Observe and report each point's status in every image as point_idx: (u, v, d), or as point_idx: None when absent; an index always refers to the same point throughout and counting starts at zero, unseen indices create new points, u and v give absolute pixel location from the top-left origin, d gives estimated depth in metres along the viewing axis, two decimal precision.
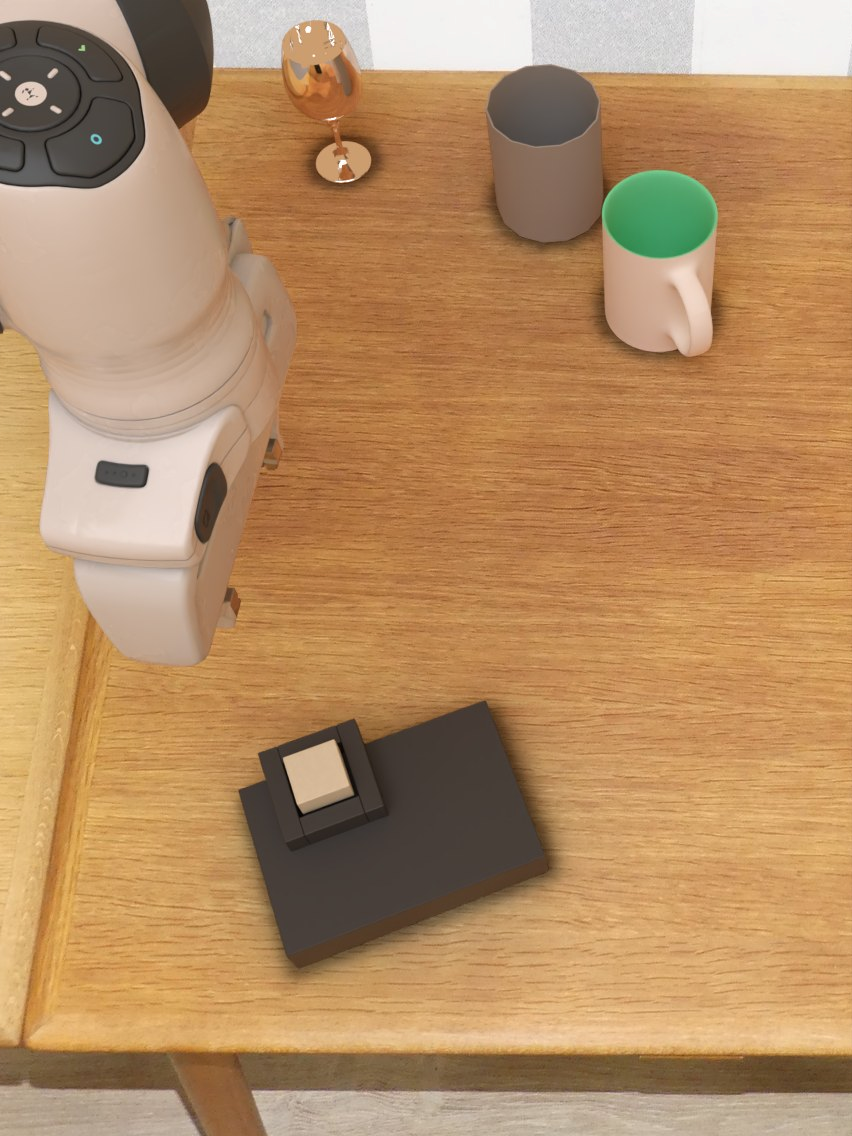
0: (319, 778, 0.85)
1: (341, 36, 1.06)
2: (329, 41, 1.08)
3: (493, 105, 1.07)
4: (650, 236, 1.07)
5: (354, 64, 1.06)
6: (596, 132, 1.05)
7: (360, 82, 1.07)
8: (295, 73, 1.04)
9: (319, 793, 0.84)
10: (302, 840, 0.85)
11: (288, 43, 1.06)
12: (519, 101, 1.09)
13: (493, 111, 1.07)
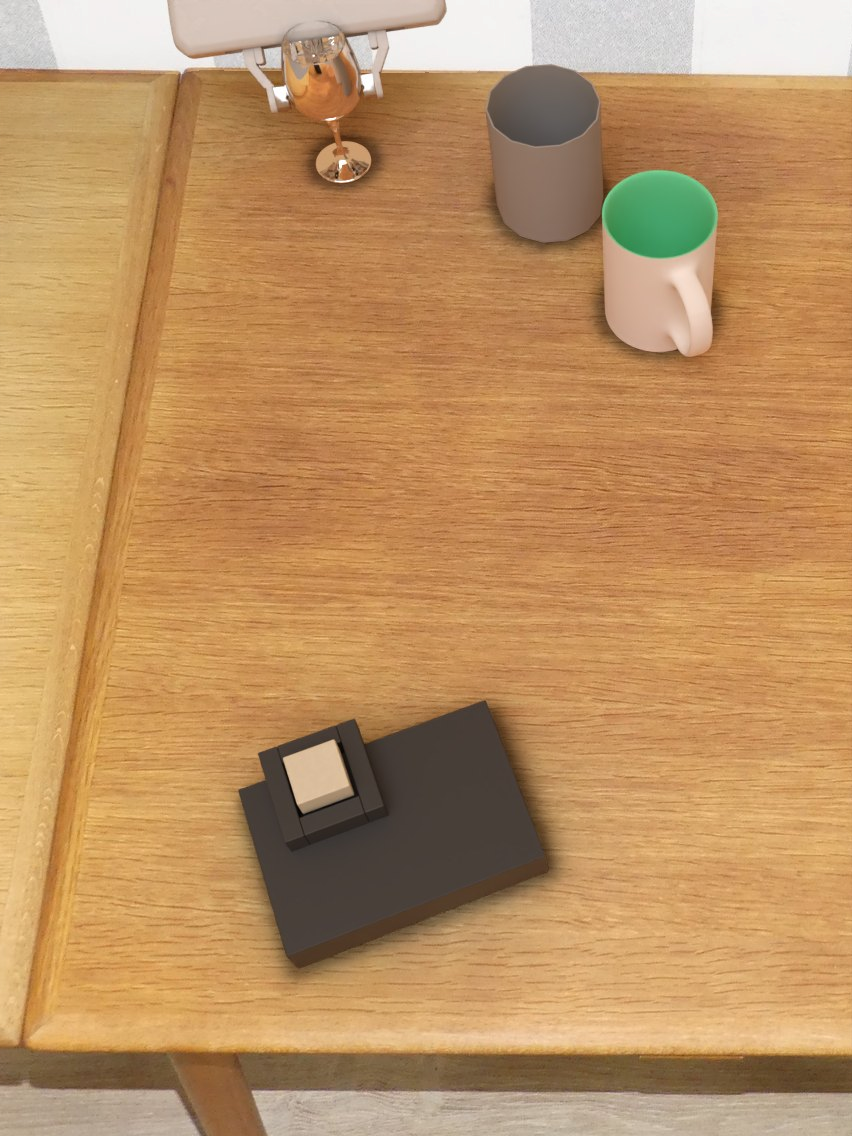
0: (319, 778, 0.85)
1: (341, 36, 1.06)
2: (329, 41, 1.08)
3: (493, 105, 1.07)
4: (650, 236, 1.07)
5: (354, 64, 1.06)
6: (596, 132, 1.05)
7: (360, 82, 1.07)
8: (294, 73, 1.04)
9: (319, 793, 0.84)
10: (302, 840, 0.85)
11: (288, 43, 1.06)
12: (519, 101, 1.09)
13: (493, 111, 1.07)
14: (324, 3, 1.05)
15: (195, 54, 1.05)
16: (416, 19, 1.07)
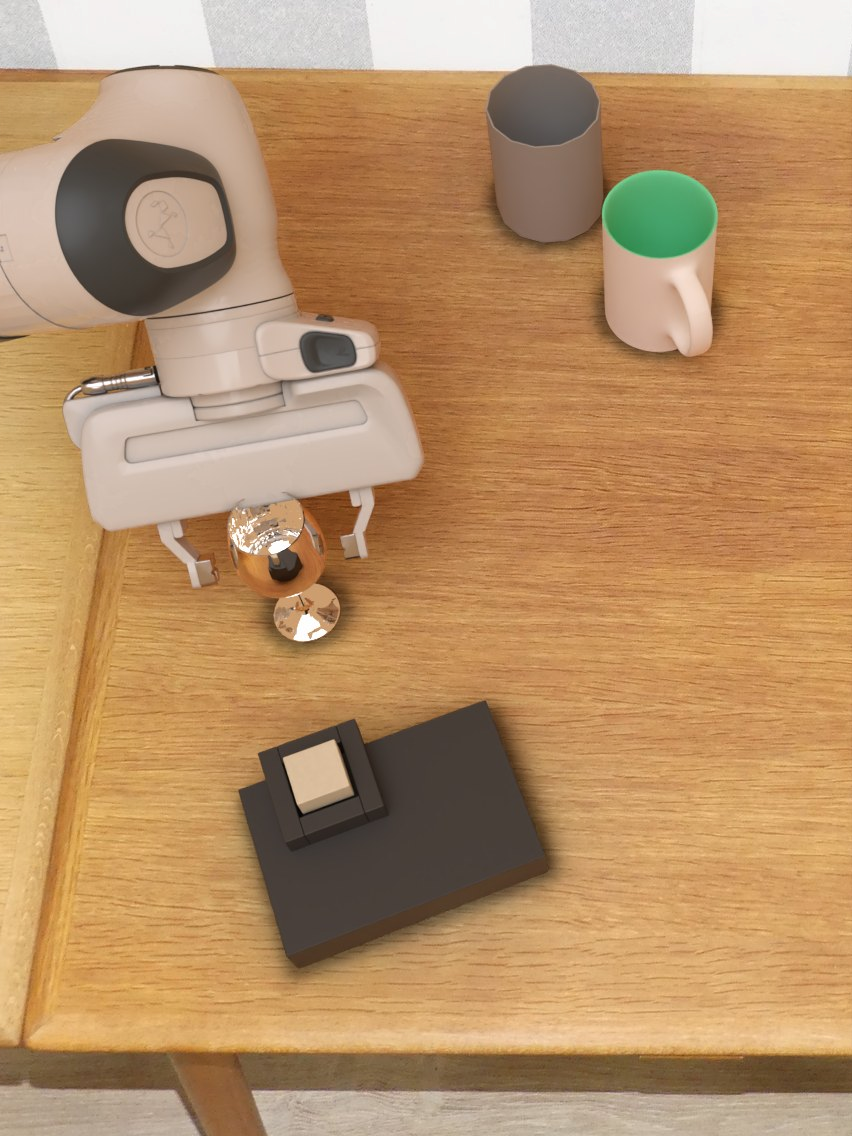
0: (319, 778, 0.85)
1: None
2: (287, 503, 0.89)
3: (493, 105, 1.07)
4: (650, 236, 1.07)
5: (316, 541, 0.88)
6: (596, 132, 1.05)
7: (324, 555, 0.89)
8: (243, 561, 0.86)
9: (319, 793, 0.84)
10: (302, 840, 0.85)
11: (236, 516, 0.87)
12: (519, 101, 1.09)
13: (493, 111, 1.07)
14: (275, 467, 0.87)
15: (118, 530, 0.86)
16: (387, 479, 0.88)
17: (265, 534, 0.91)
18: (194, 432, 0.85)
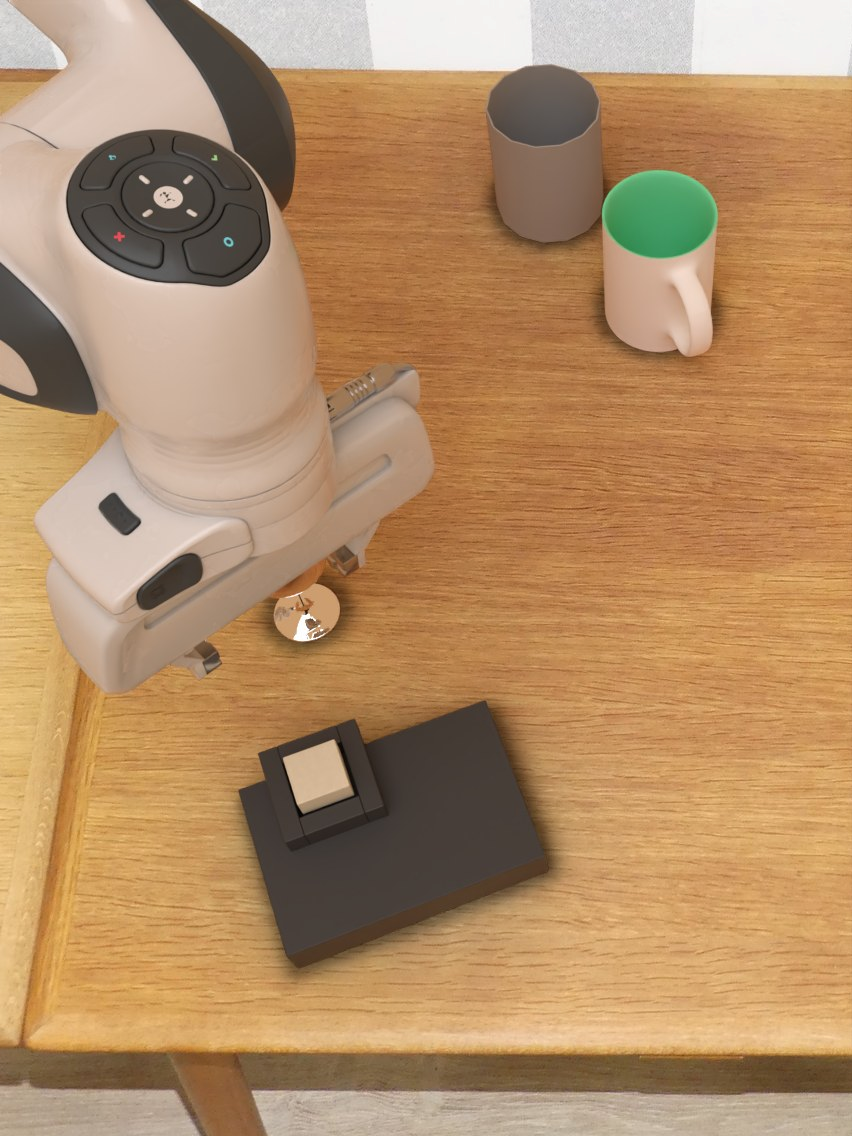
0: (319, 778, 0.85)
1: None
2: None
3: (493, 105, 1.07)
4: (650, 236, 1.07)
5: None
6: (596, 132, 1.05)
7: None
8: None
9: (319, 793, 0.84)
10: (302, 840, 0.85)
11: None
12: (519, 101, 1.09)
13: (493, 111, 1.07)
14: None
15: None
16: None
17: None
18: None
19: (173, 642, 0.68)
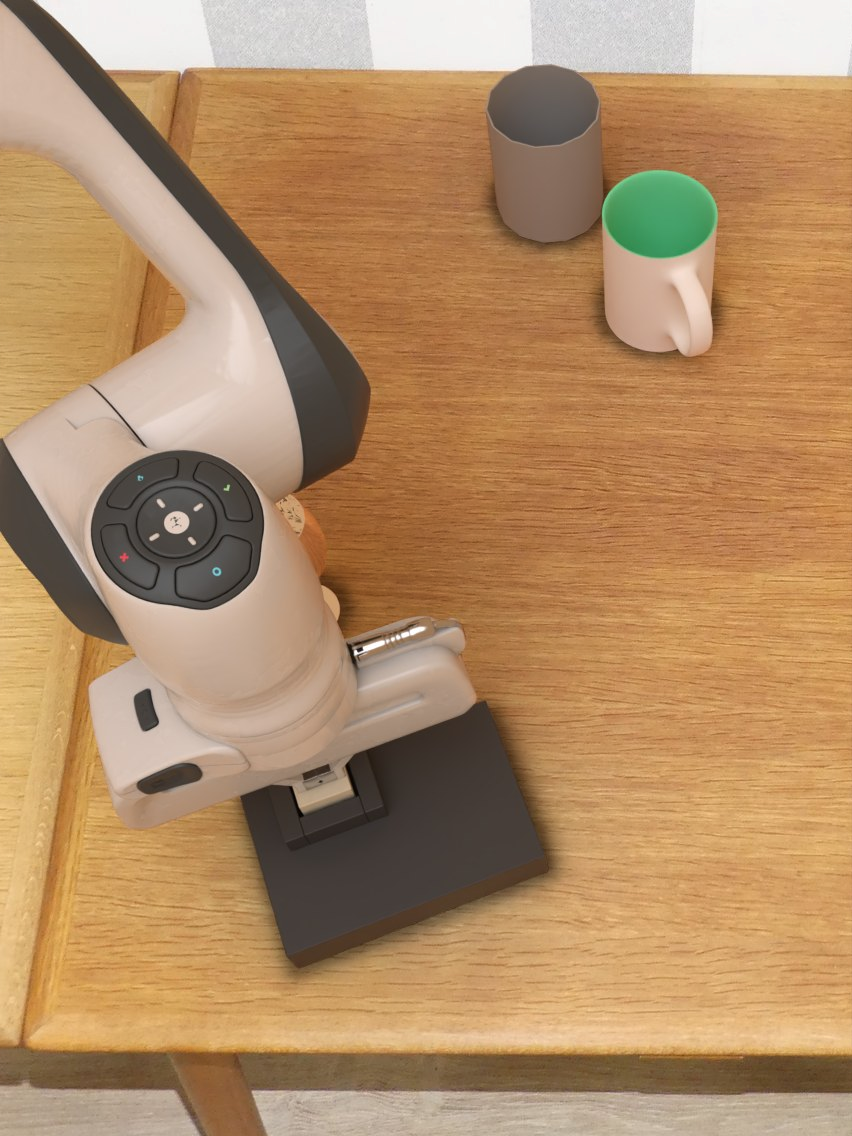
0: None
1: None
2: (287, 503, 0.89)
3: (493, 105, 1.07)
4: (650, 236, 1.07)
5: (316, 541, 0.88)
6: (596, 132, 1.05)
7: (324, 555, 0.89)
8: None
9: (321, 796, 0.85)
10: (302, 840, 0.85)
11: None
12: (519, 101, 1.09)
13: (493, 111, 1.07)
14: None
15: None
16: None
17: None
18: None
19: (193, 801, 0.78)
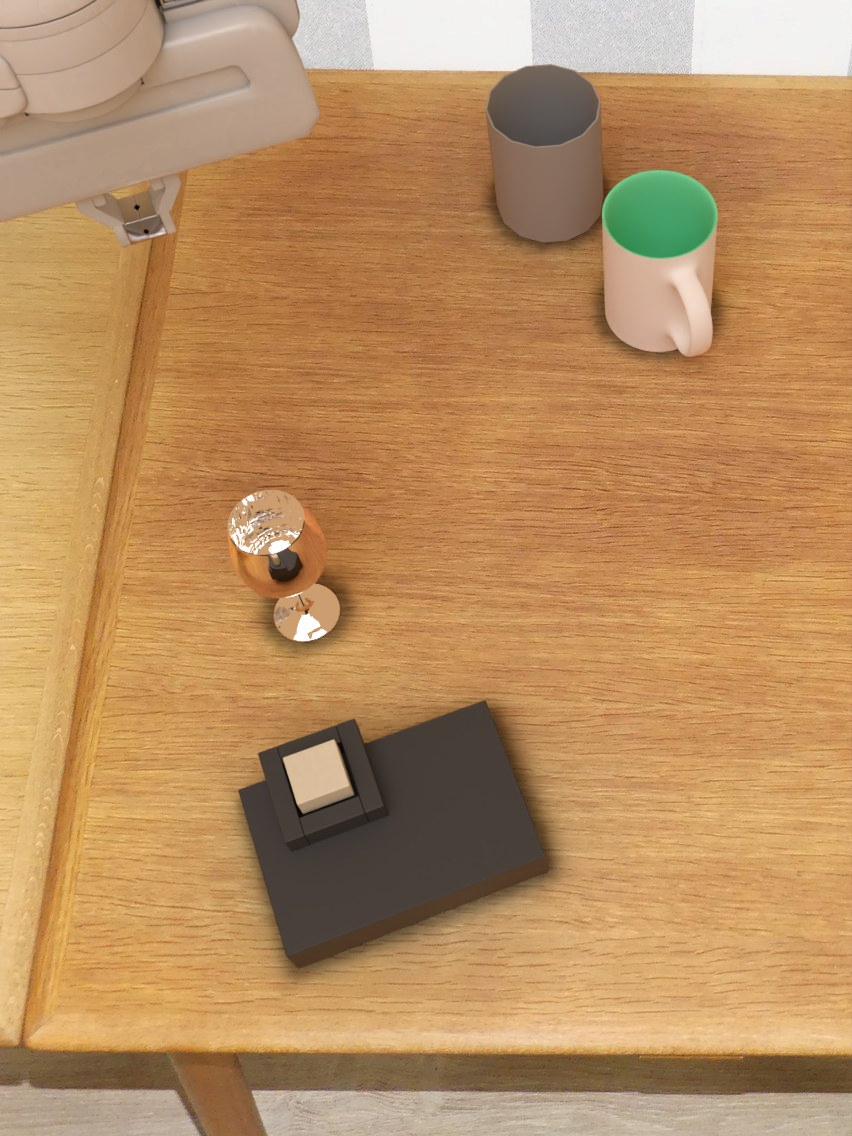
0: (319, 778, 0.85)
1: None
2: (287, 503, 0.89)
3: (493, 105, 1.07)
4: (650, 236, 1.07)
5: (316, 541, 0.88)
6: (596, 132, 1.05)
7: (324, 555, 0.89)
8: (243, 561, 0.86)
9: (319, 793, 0.84)
10: (302, 840, 0.85)
11: (236, 516, 0.87)
12: (519, 101, 1.09)
13: (493, 111, 1.07)
14: None
15: None
16: None
17: (265, 534, 0.91)
18: None
19: None
